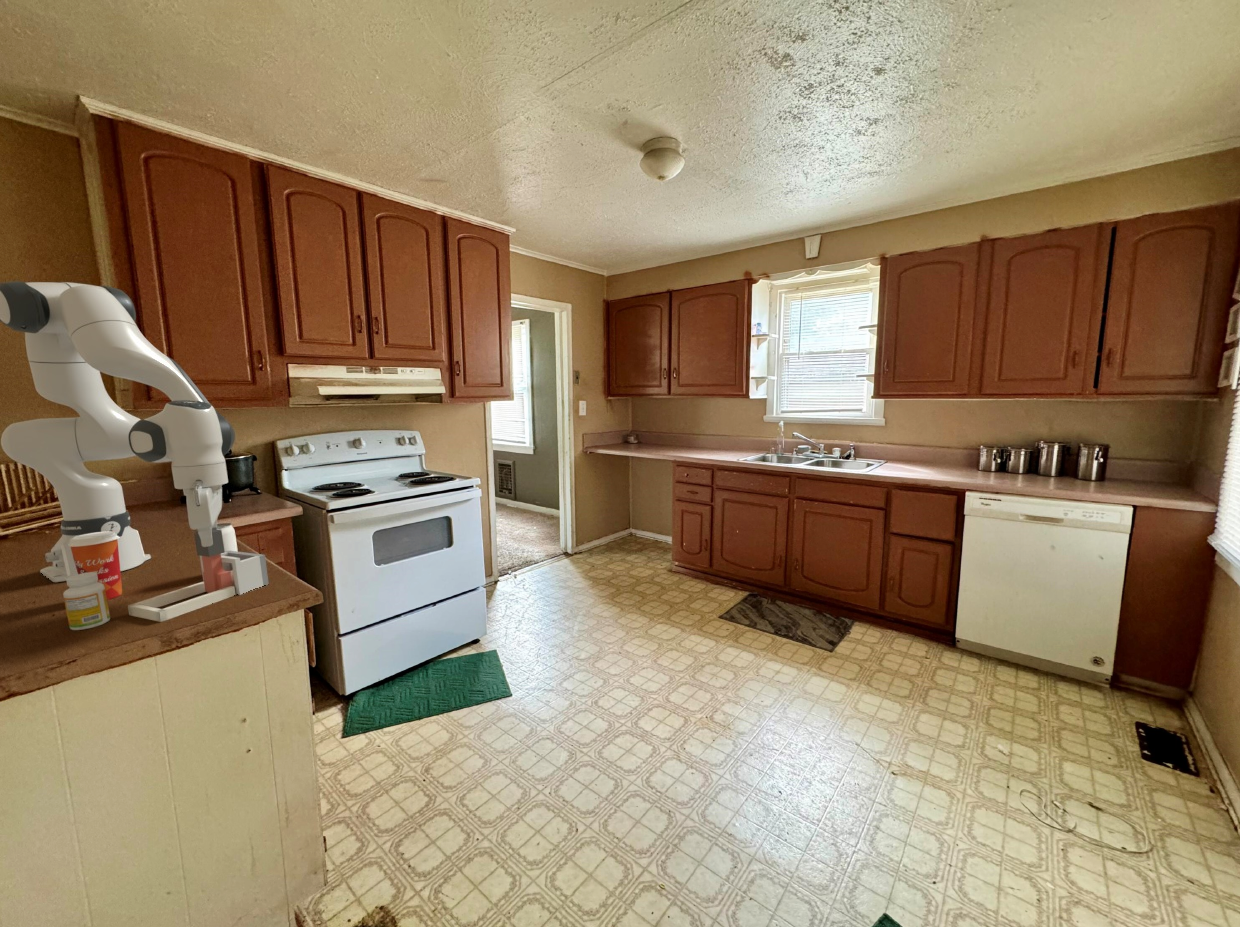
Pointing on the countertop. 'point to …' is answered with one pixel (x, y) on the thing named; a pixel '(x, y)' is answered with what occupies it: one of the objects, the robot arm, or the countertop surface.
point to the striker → (213, 563)
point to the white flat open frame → (152, 612)
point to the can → (228, 536)
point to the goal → (244, 570)
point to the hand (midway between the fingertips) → (210, 540)
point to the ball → (232, 578)
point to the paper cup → (99, 559)
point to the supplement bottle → (85, 602)
